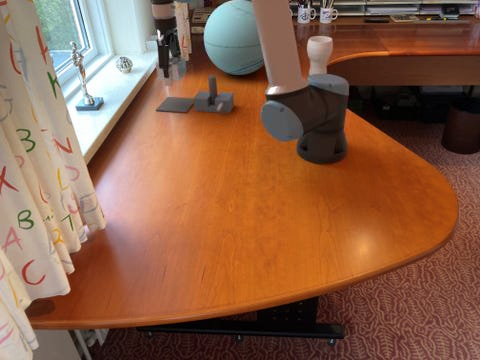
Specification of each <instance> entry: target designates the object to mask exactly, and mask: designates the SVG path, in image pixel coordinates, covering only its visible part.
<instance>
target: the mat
mask: <svg viewBox="0 0 480 360" xmlns="http://www.w3.org/2000/svg"><path fill="white" fill-rule="evenodd" d="M193 98H194V97H176V96H167V97H166V98H165V99H164V100H163V101H162V102H161V104H159V105H158V107H157V108H156V109H155V112H163V113H175V114H187V113H188V112H189V111H190V109H191V108H192V107H193V106H194V99H193Z"/></svg>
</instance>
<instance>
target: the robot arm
mask: <svg viewBox="0 0 480 360" xmlns="http://www.w3.org/2000/svg"><path fill="white" fill-rule="evenodd" d="M150 1H151V10H152V16H153V23H154V28H155V30H157V31H159V38H156V39H155V42H156V45H157V59H158V61H159V69H163V75H164V80H163V82H164V87H173V85H174V84H173V83H174V82H173V81H172V75H171V68H169V56H170V55H171V56H172V57H183V56H182V50H181V46H180V40H179V35H178V34H179V33H178V29H177V28H178V24H177V23H178V21H177V16H176V9H177V6H176V5H175V2H177V3H180V4H190V3H192V2H193V1H194V0H150ZM250 2H252V6H253V11H254V15H255V20H256V25H257V29H258V34H259V39H260V44H261V48H262V53H263V58H264V62H265V64H264V67H265V71H266V76H267V80H268V87H267V88H266V90H265V91H264V95H265V99H266V102H265V103H264V104H263V105H262V106H261V110H260V114H259V115H260V121H261V122H262V125H263V128H264V129H265V130H266V132H267V133H268V135H270V136H271V137H272V138H273V139H275V140H276V141H279V142H283V143H288V142H291V141H294V140H297V141H296V153H297V155H298V156H299V157H300V158H302V159H304V160H305V161H308V162H310V163H315V164H322V165H323V164H333V163H337V162H340V161H342V160H343V159H344V158H346V156H348V155H347V154H348V147H349V144H348V141H347V137H346V132H345V124H346V115H347V109H348V103H349V102H348V101H349V95H350V92H349V91H350V90H349V89H350V84H349V82H348V80H346V78H344V77H341V76H338V75H335V74H331V73H327V74H312V75H308V76H307V77H306V78H304V77H303V74H302V69H301V68H302V67H301V63H300V62H301V61H300V58H299V53H298V52H299V51H298V46H297V45H298V44H297V40H296V34H295V29H294V24H293V20H292V19H293V18H292V13H291V8H290V2H289V0H250Z"/></svg>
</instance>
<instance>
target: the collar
mask: <svg viewBox="0 0 480 360" xmlns="http://www.w3.org/2000/svg"><path fill="white" fill-rule="evenodd" d="M186 64H187V63H186V56H182V57H172V55H171V56H170V55H169V68H171V75H172V82H180V81H181V80H182V79H183V78H184V77H186V76H185V75H187V74H188V72H187V71H188V70H187V65H186ZM155 69H156V74H157V80H158V81H164V75H163V69H159V60H158V61H157V62H155Z"/></svg>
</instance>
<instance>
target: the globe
mask: <svg viewBox="0 0 480 360" xmlns="http://www.w3.org/2000/svg"><path fill="white" fill-rule="evenodd" d="M203 43H204V49H205V52H206V53H207V55H208V58H209V59H210V61H211V62H212V64H214V65H215V66H216V68H218V69H220V70H222V71H223V72H225V73H227V74H229V75H235V76H240V75H243V76H244V75H248V74H251V73H253V72H256V71H258V70H259V69H260V68H262V67H263V66H265V62H264V58H263V53H262V48H261V44H260V39H259V34H258V29H257V25H256V20H255V15H254V11H253V6H252V1H251V0H250V1H249V0H229V1H226V2H224V3H222V4H221V5H219V6H217V8H215V9H214V11H212V13H211V14H210V16H209V17H208V19H207V21H206V24H205V26H204V31H203Z"/></svg>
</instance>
